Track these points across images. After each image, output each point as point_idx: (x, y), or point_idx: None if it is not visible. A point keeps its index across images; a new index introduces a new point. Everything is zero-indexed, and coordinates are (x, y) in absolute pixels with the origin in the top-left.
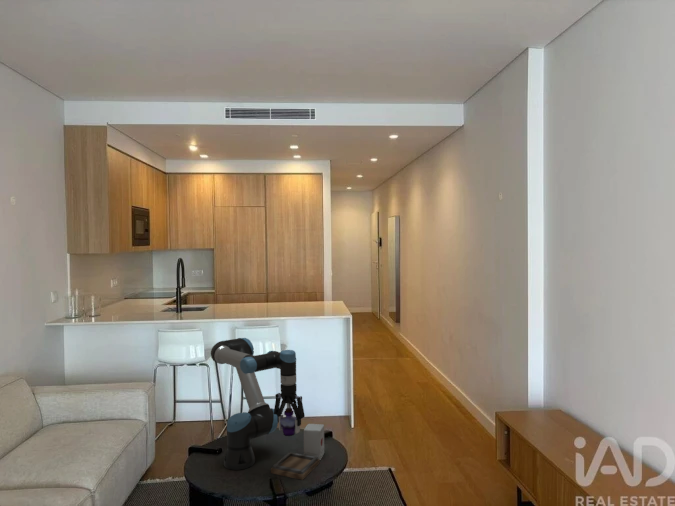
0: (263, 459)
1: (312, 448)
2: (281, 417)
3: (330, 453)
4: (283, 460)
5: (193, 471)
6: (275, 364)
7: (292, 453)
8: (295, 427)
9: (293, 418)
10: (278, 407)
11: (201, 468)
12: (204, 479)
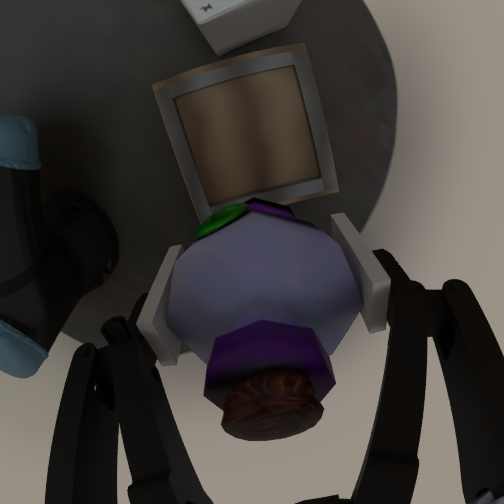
0: (98, 170)
1: (258, 29)
2: (168, 335)
3: None
4: (192, 157)
5: (63, 328)
6: None
7: (177, 90)
8: None
9: (317, 306)
10: (95, 409)
11: None
12: None
